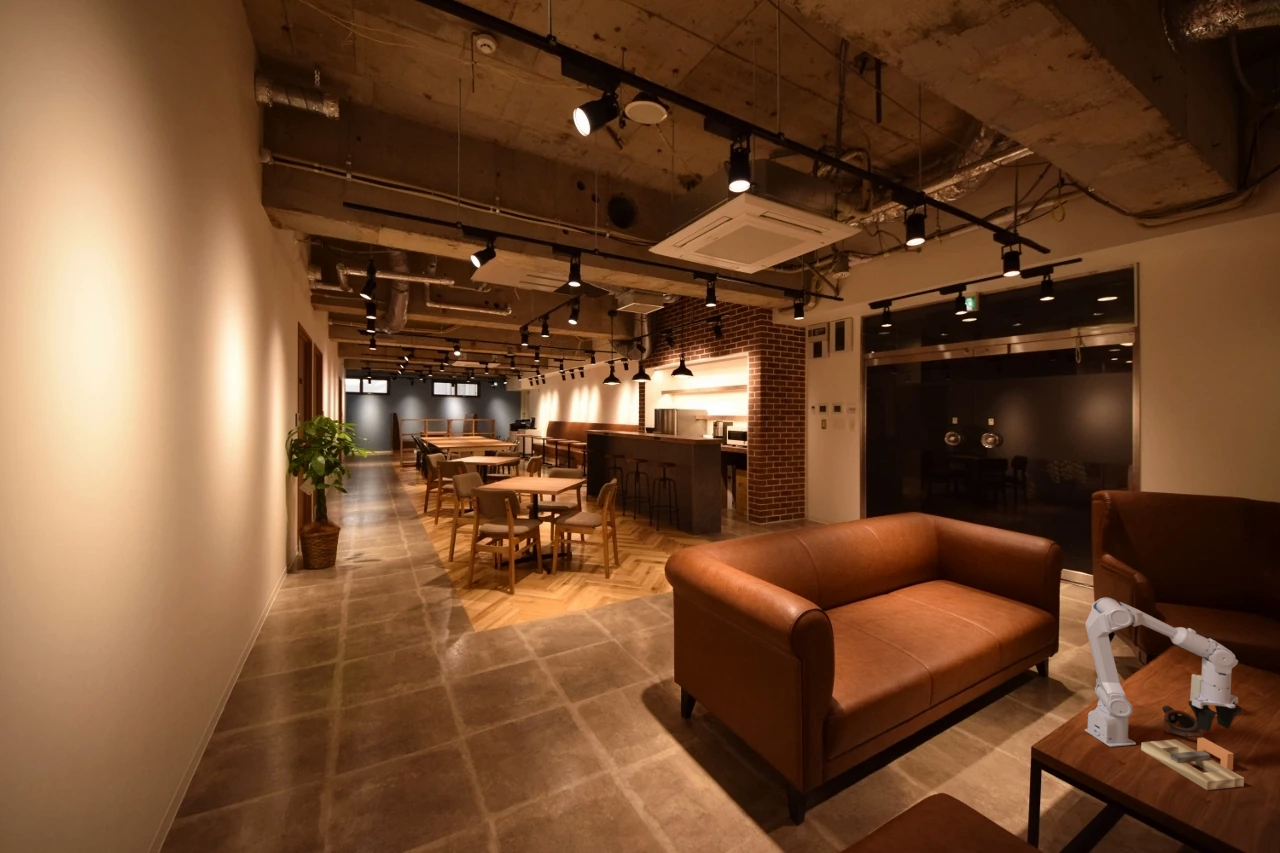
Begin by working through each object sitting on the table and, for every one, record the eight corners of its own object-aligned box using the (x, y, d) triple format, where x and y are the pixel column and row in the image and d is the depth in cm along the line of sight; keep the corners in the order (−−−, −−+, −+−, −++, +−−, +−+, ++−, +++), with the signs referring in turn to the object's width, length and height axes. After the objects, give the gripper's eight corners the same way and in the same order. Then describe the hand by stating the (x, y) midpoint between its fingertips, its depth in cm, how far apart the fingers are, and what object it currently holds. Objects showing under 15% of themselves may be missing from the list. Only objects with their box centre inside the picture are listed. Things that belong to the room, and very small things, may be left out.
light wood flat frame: (1206, 790, 134) (1207, 776, 134) (1141, 749, 150) (1141, 737, 150) (1243, 786, 136) (1244, 772, 136) (1174, 746, 152) (1175, 734, 152)
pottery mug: (1216, 745, 153) (1211, 727, 151) (1183, 754, 155) (1178, 736, 153) (1178, 713, 165) (1173, 695, 163) (1148, 721, 166) (1143, 704, 164)
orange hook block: (1226, 770, 142) (1227, 754, 141) (1196, 753, 149) (1197, 738, 148) (1232, 770, 142) (1233, 753, 142) (1202, 753, 149) (1203, 737, 149)
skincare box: (1197, 713, 168) (1199, 679, 168) (1189, 706, 172) (1190, 673, 172) (1221, 717, 166) (1223, 683, 166) (1212, 710, 170) (1214, 677, 170)
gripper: (1214, 693, 140) (1212, 739, 140) (1253, 688, 143) (1251, 733, 143) (1183, 680, 147) (1181, 723, 147) (1220, 675, 149) (1218, 718, 150)
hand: (1213, 727), depth 146 cm, fingers open, 7 cm apart
